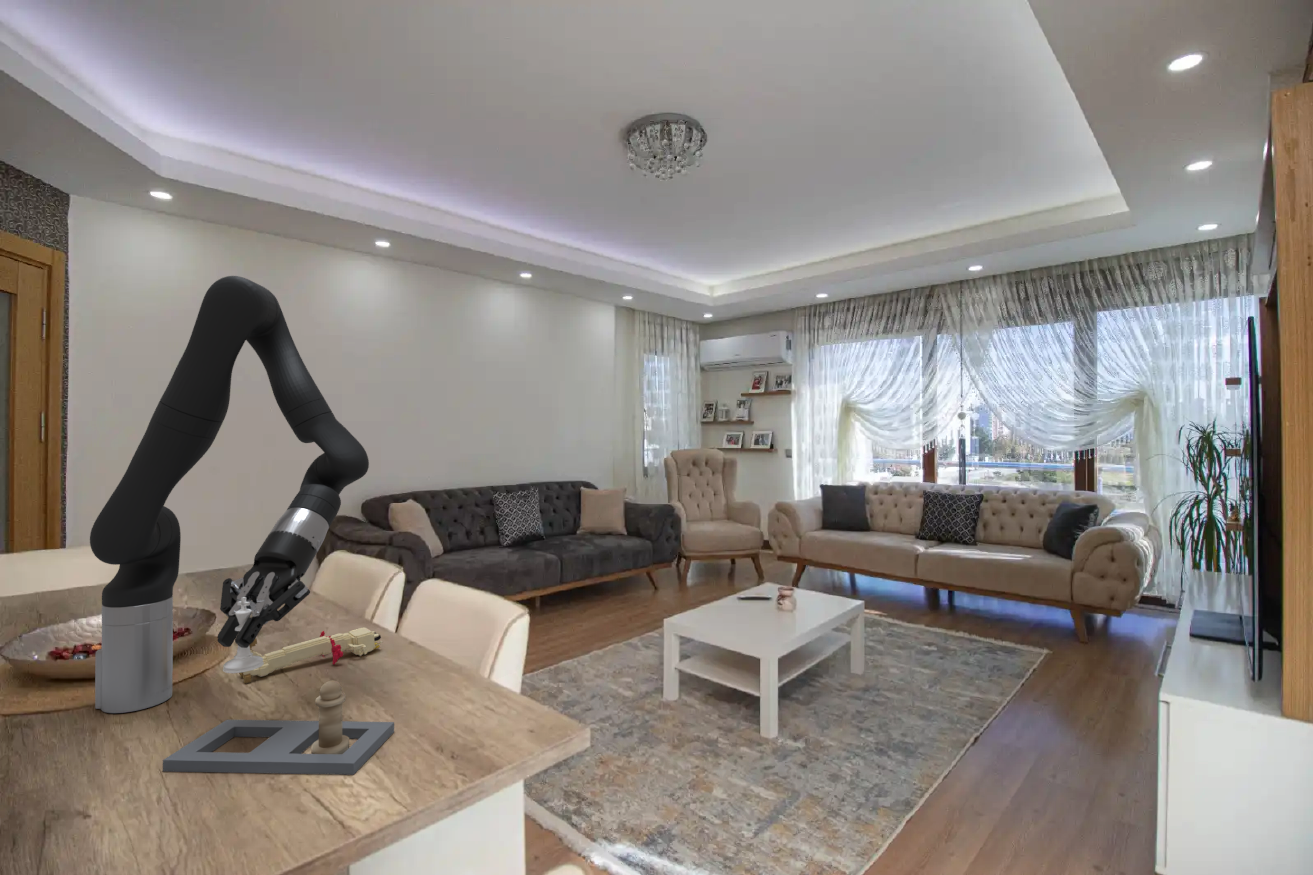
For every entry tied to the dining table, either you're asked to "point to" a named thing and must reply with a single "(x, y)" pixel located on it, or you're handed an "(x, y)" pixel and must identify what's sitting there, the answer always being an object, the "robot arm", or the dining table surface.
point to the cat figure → (315, 650)
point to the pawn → (330, 721)
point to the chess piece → (243, 657)
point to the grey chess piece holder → (279, 748)
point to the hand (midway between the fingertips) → (232, 644)
